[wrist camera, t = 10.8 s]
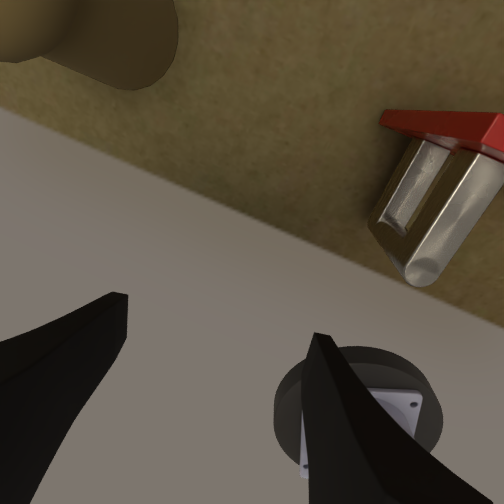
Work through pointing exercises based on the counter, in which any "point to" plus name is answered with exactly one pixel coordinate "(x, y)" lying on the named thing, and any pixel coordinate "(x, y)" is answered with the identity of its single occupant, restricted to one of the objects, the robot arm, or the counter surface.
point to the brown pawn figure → (93, 37)
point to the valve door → (437, 187)
